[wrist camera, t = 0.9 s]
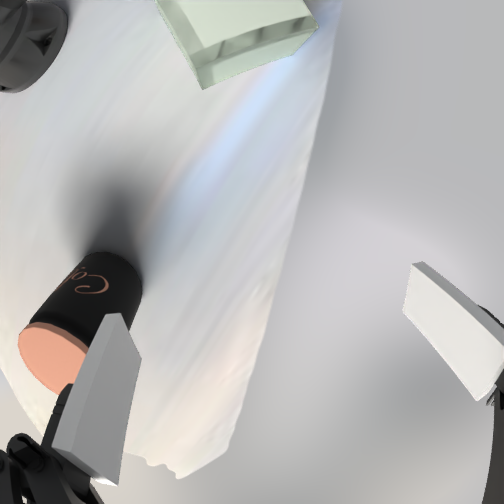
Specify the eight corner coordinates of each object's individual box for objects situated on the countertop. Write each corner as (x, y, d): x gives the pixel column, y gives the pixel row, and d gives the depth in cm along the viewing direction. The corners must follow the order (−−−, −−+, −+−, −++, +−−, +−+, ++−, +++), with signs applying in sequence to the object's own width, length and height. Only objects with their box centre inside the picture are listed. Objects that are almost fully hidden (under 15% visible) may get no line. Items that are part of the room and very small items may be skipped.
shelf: (161, 15, 22) (143, -21, 13) (247, -17, 22) (257, -57, 12) (202, 89, 28) (195, 68, 18) (292, 54, 27) (319, 26, 18)
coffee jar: (132, 242, 34) (75, 325, 17) (152, 309, 38) (125, 407, 22) (70, 254, 33) (1, 326, 17) (94, 314, 37) (50, 399, 21)
